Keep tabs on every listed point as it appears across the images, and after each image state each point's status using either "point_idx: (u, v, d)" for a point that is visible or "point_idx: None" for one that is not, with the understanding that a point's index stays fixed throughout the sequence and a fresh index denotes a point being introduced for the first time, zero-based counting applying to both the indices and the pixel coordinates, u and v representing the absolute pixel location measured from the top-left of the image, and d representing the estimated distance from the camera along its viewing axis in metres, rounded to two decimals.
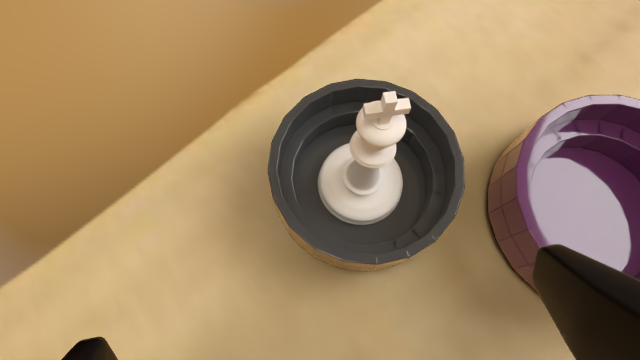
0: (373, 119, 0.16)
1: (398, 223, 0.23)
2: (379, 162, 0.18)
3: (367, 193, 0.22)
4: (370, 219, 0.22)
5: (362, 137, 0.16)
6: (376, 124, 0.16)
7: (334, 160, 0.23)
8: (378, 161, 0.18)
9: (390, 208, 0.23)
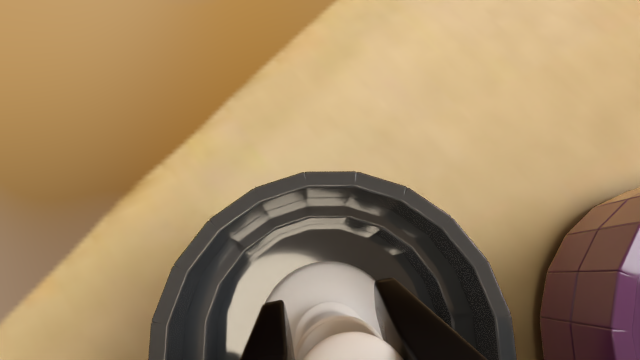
0: None
1: None
2: None
3: None
4: None
5: None
6: None
7: None
8: None
9: None
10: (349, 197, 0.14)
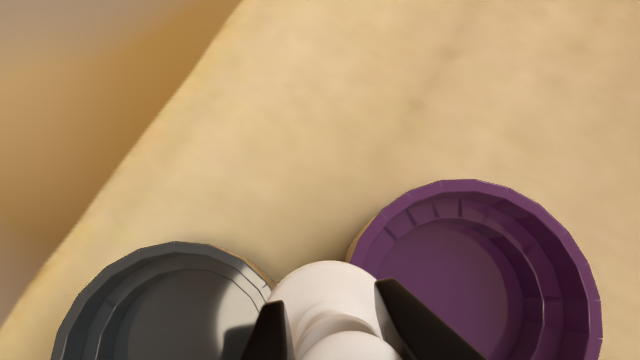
0: None
1: None
2: None
3: None
4: None
5: None
6: None
7: None
8: None
9: None
10: (184, 254, 0.19)
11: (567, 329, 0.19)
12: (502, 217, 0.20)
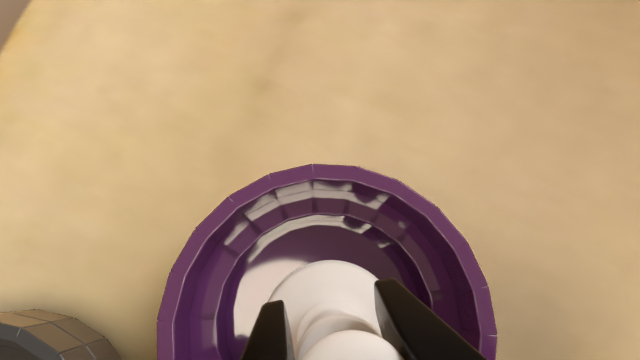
0: None
1: None
2: None
3: None
4: None
5: None
6: None
7: None
8: None
9: None
10: None
11: (462, 327, 0.15)
12: (367, 203, 0.16)
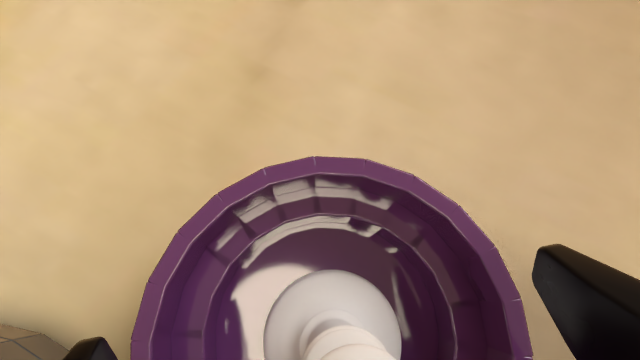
0: None
1: None
2: None
3: None
4: None
5: None
6: None
7: (284, 316, 0.14)
8: None
9: None
10: None
11: (489, 345, 0.13)
12: (377, 202, 0.14)
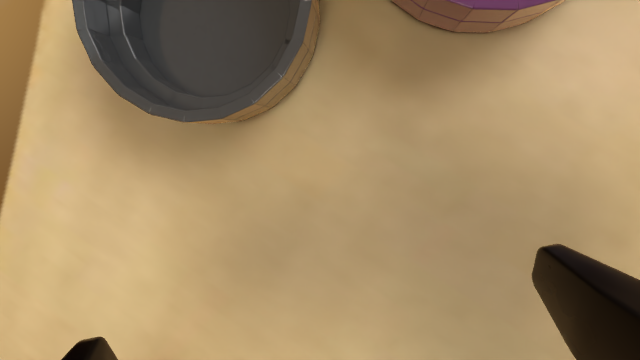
0: None
1: (277, 39, 0.19)
2: None
3: None
4: None
5: None
6: None
7: None
8: None
9: None
10: None
11: None
12: None
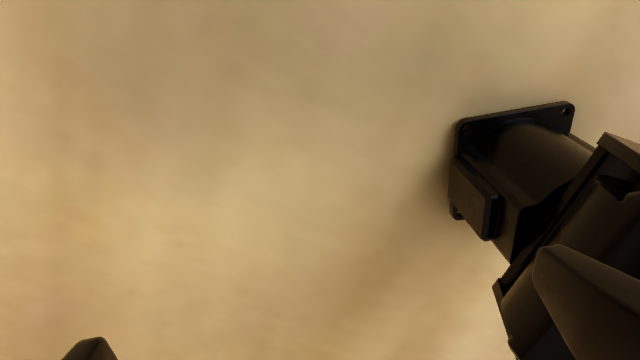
0: None
1: None
2: None
3: None
4: None
5: None
6: None
7: None
8: None
9: None
10: None
11: None
12: None
